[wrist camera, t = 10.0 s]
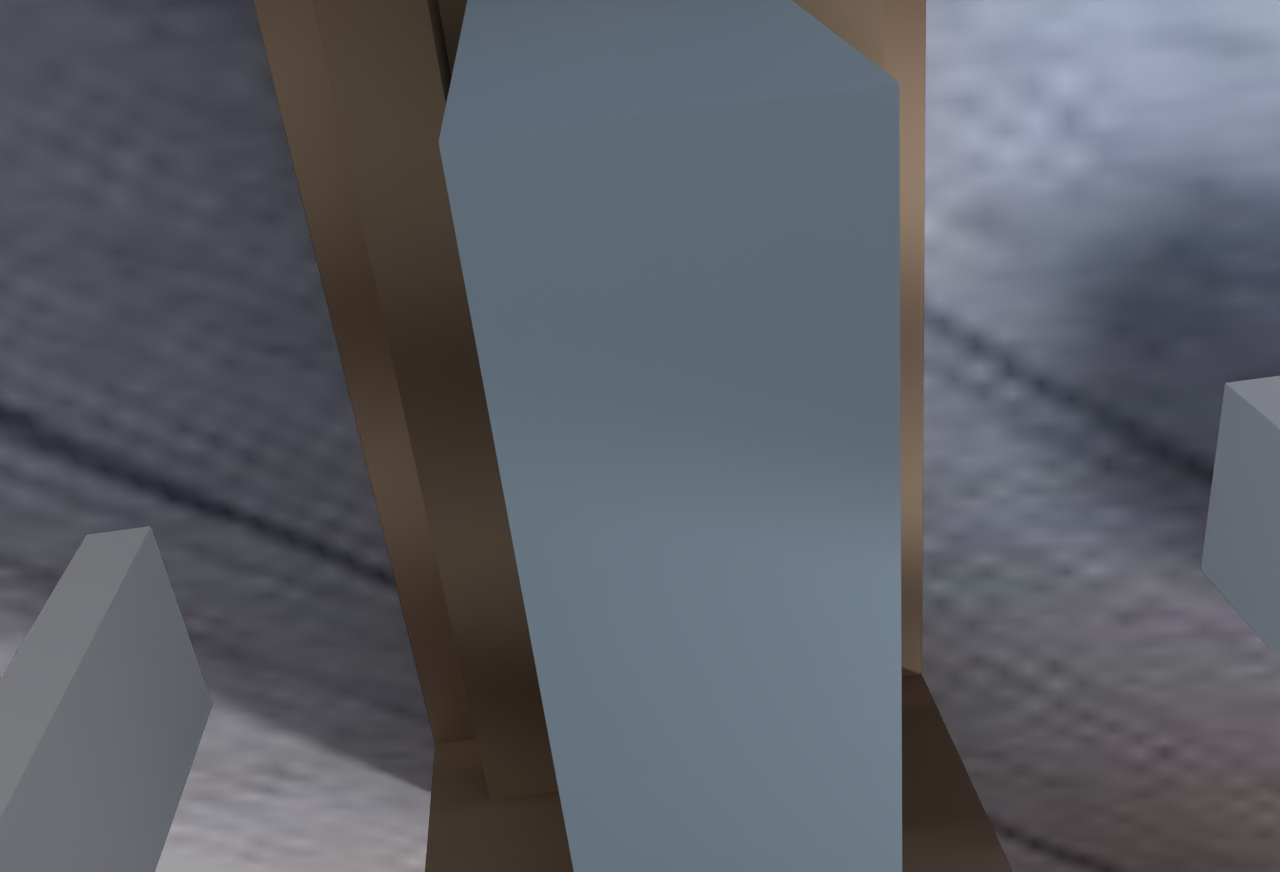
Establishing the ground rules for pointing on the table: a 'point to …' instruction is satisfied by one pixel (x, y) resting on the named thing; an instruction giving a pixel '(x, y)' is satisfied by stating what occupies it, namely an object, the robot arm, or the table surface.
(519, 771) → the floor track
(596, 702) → the door panel
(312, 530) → the table surface
